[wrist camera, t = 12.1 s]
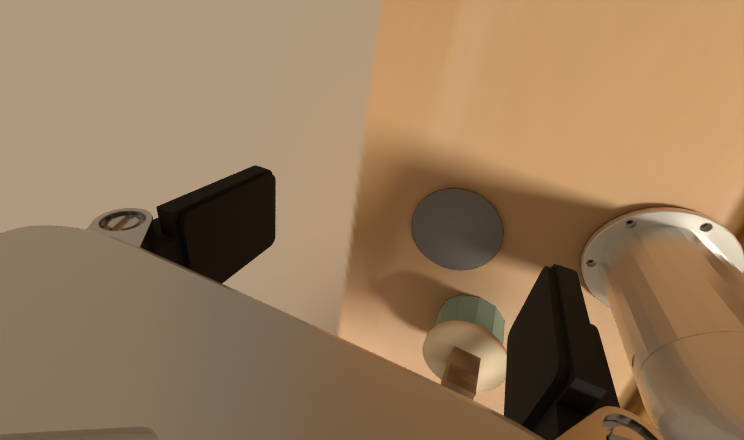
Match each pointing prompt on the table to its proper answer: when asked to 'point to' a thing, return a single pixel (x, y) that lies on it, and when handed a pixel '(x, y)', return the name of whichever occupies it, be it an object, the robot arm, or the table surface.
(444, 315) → the bowl
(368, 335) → the table surface
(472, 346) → the lid
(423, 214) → the mat
